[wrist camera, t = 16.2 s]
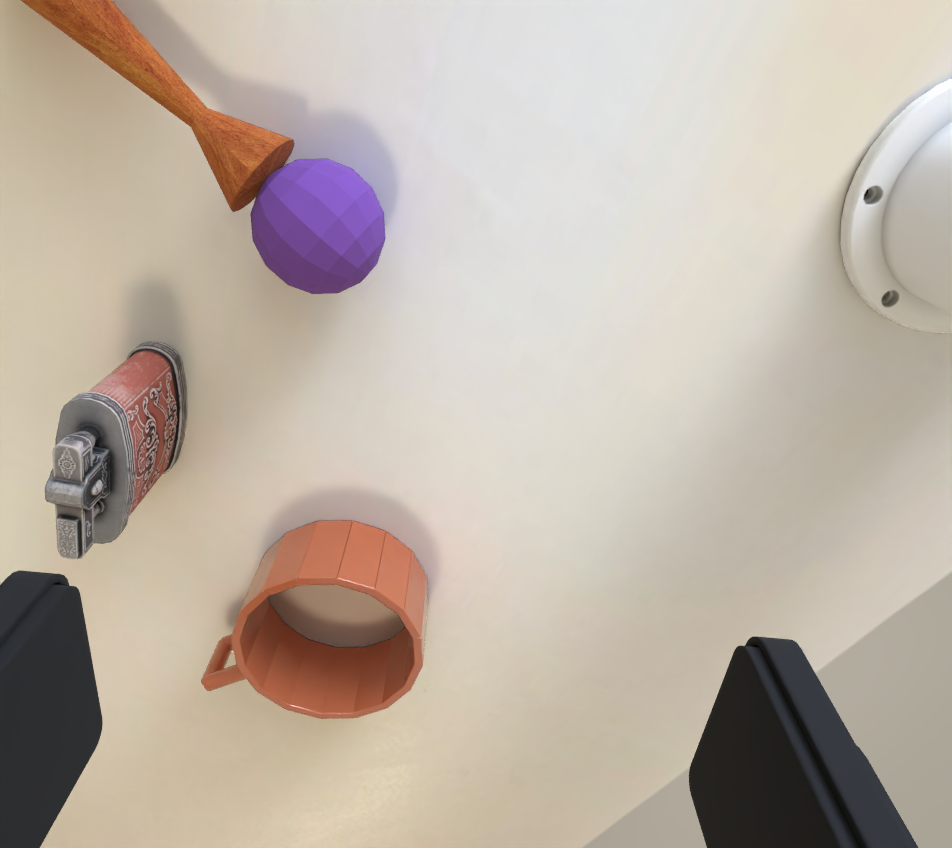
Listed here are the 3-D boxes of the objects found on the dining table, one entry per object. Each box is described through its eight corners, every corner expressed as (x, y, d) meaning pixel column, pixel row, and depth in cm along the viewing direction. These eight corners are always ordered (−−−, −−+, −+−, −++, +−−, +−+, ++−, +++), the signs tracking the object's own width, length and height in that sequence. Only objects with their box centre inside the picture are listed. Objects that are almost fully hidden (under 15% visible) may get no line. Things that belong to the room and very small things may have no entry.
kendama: (-11, -178, 25) (409, 225, 29) (70, -102, 30) (412, 225, 35) (-106, -42, 25) (318, 328, 30) (-9, 8, 31) (334, 312, 36)
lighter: (126, 335, 37) (16, 416, 28) (190, 348, 38) (101, 433, 29) (125, 461, 41) (28, 569, 32) (184, 472, 41) (104, 582, 32)
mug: (380, 496, 42) (368, 552, 37) (454, 623, 47) (452, 688, 42) (179, 571, 45) (143, 633, 40) (268, 685, 49) (245, 753, 44)
